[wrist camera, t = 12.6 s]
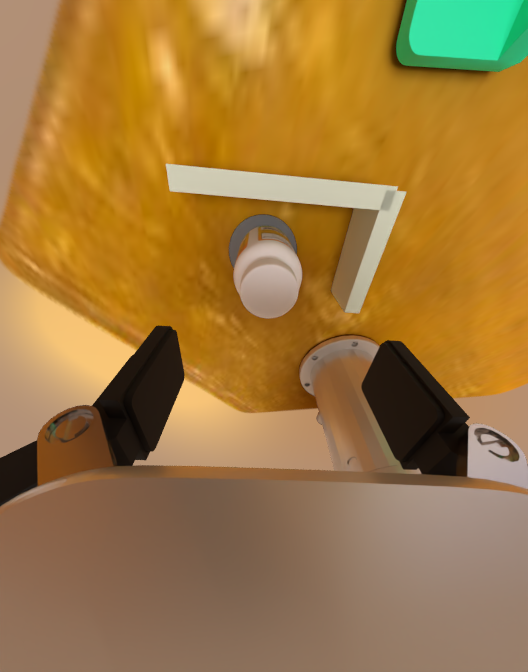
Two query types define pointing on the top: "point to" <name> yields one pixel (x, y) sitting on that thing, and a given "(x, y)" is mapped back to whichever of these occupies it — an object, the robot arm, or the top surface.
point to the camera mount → (463, 34)
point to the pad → (253, 223)
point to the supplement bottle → (267, 272)
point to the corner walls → (367, 200)
